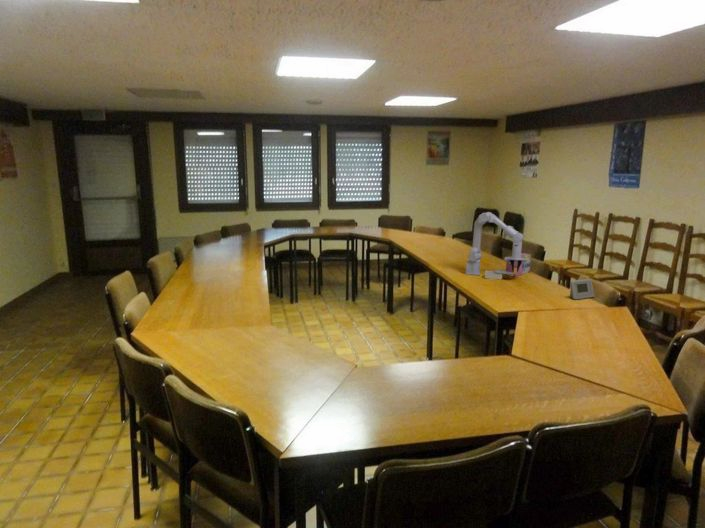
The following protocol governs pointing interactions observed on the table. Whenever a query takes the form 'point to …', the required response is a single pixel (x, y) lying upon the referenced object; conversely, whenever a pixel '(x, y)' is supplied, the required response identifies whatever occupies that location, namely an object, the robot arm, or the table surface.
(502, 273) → the lid
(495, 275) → the tub
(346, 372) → the table surface
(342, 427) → the table surface
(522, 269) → the gum box
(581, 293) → the digital clock
